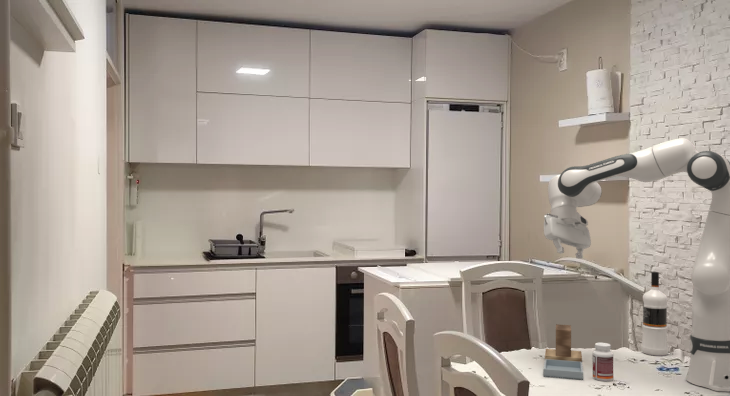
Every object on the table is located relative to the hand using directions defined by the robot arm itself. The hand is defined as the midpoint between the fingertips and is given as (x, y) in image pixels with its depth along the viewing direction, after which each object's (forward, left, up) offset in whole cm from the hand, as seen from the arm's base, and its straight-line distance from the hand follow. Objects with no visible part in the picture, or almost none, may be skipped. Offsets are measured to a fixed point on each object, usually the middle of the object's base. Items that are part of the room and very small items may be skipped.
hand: (570, 255), depth 216 cm
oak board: (+2, -1, -37) cm, 38 cm away
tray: (+2, +11, -37) cm, 39 cm away
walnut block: (+2, -1, -34) cm, 34 cm away
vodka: (-30, -26, -38) cm, 55 cm away
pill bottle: (-10, +14, -38) cm, 41 cm away
